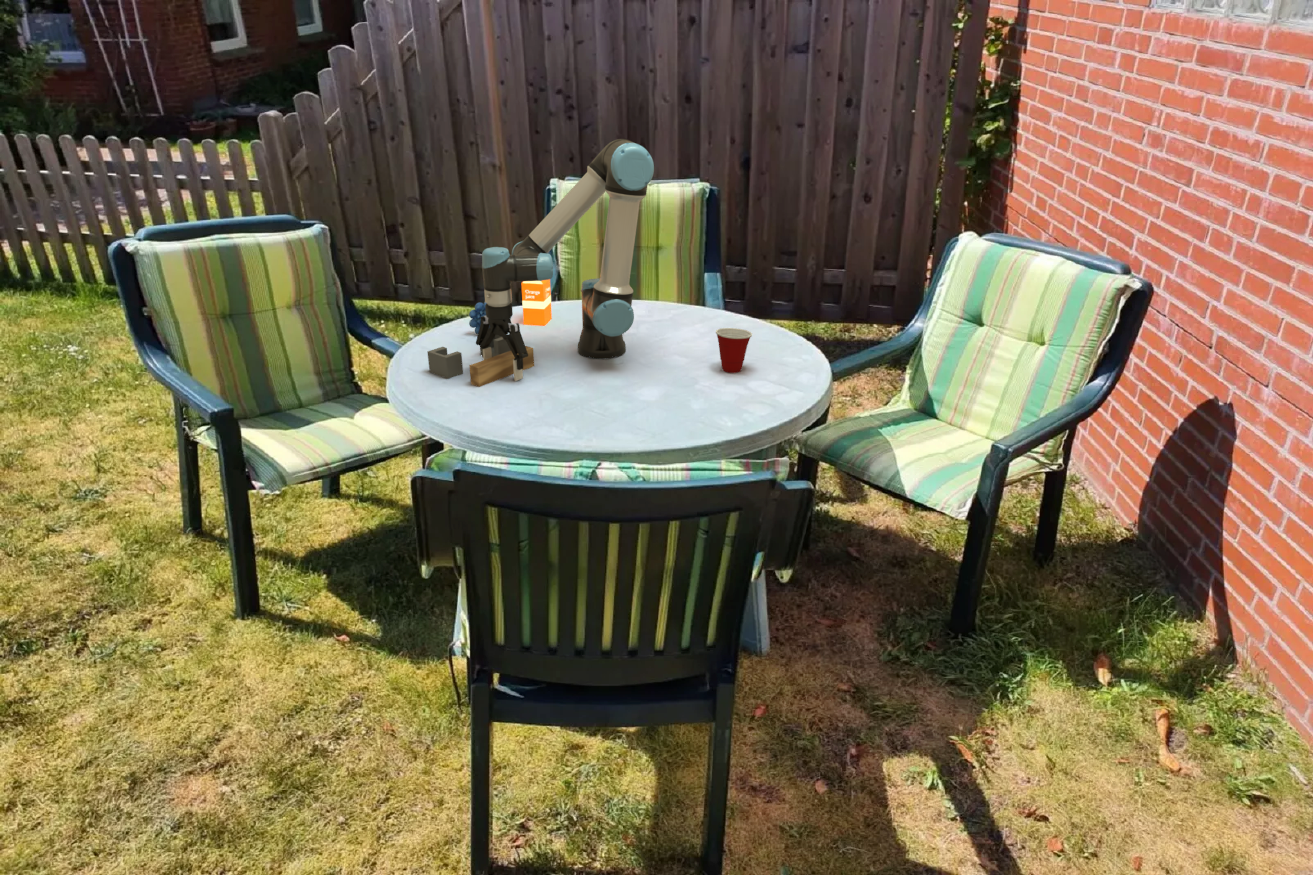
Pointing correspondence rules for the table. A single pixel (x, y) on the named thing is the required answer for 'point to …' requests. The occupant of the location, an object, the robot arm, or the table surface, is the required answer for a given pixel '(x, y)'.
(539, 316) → the orange juice
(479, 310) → the grapes
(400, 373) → the table surface
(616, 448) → the table surface
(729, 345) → the plastic cup
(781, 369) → the table surface
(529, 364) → the slat
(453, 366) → the end caps
